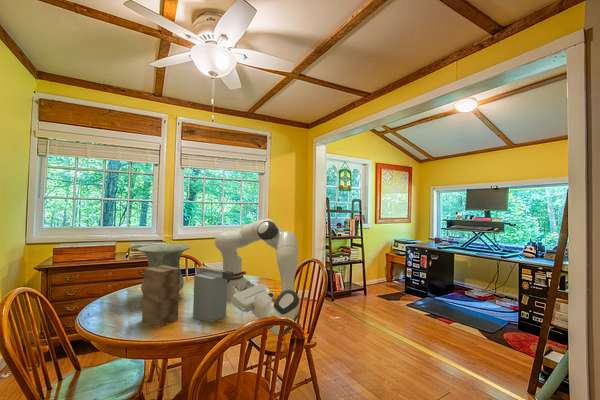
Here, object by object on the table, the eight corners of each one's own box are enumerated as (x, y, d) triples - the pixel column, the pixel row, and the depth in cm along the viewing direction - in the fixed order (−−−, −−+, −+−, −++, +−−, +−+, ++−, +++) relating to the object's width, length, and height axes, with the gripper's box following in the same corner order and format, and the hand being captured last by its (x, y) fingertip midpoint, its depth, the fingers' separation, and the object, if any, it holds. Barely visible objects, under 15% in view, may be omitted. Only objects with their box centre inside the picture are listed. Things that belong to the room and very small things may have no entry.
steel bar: (201, 271, 139) (202, 265, 140) (233, 278, 128) (233, 272, 128) (196, 272, 137) (197, 266, 137) (228, 279, 125) (228, 273, 126)
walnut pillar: (162, 314, 134) (164, 265, 135) (177, 319, 128) (179, 268, 129) (141, 321, 125) (144, 268, 126) (157, 327, 119) (159, 272, 120)
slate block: (209, 310, 140) (210, 271, 141) (226, 315, 134) (227, 274, 135) (192, 316, 132) (194, 275, 132) (210, 322, 126) (211, 279, 126)
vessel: (148, 313, 135) (151, 252, 136) (126, 301, 151) (129, 246, 152) (198, 299, 156) (199, 247, 157) (174, 290, 172) (176, 242, 173)
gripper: (241, 319, 110) (220, 296, 116) (271, 303, 128) (251, 284, 134) (247, 307, 108) (226, 284, 114) (277, 293, 126) (256, 274, 132)
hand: (240, 284), depth 124 cm, fingers open, 8 cm apart
